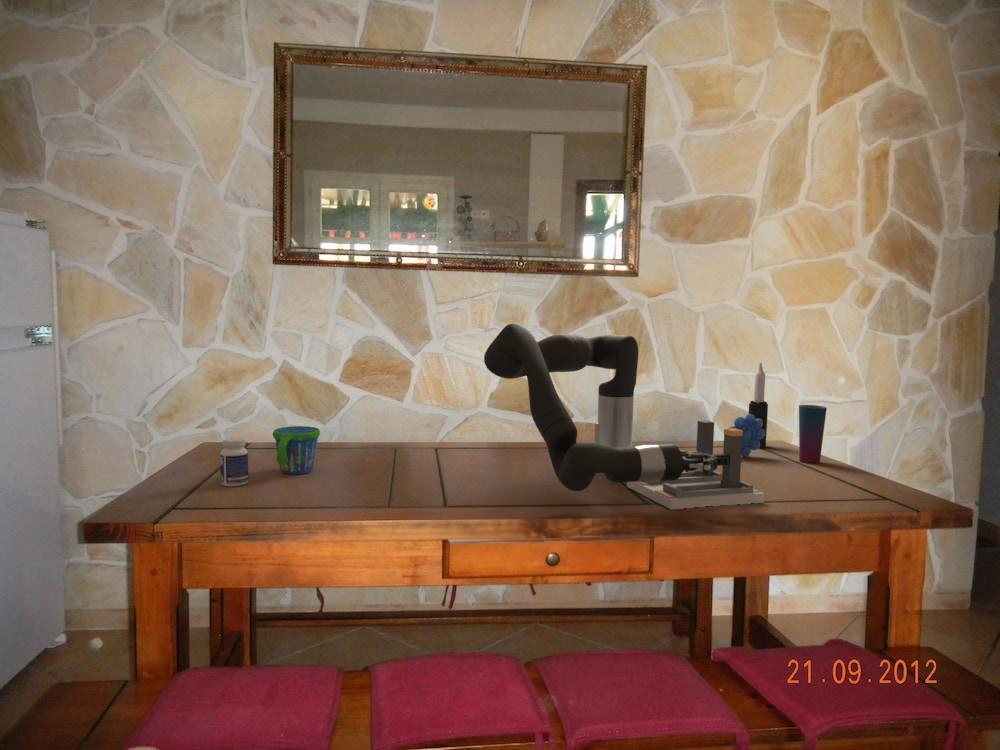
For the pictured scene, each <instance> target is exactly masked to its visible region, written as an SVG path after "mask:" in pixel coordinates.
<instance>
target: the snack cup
mask: <svg viewBox="0 0 1000 750" xmlns="http://www.w3.org/2000/svg"><path fill="white" fill-rule="evenodd" d="M320 435H321V430H320V429H319V428H318V427H314V426H306V425H305V426H301V425H293V426H284V427H283V426H282V427H279V428H275V429H273V432H272V437H273V439H274V441H275V446H276V453H277V454H276V461H277V463H278V464H279V469H280V473H283V474H286V475H303V474H308V473H310V472H312V471H313V470H314V467H315V459H316V453H317V446H318V438H319V437H320Z"/></svg>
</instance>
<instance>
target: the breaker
mask: <svg viewBox="0 0 1000 750" xmlns="http://www.w3.org/2000/svg"><path fill="white" fill-rule="evenodd" d="M742 436H743V430H739V429H735V428H734V429H728V428H724V429H723V453H722V454H727V455H729V456H730V464H729V465H722V472H721V473H722V480H721V484H720V488H723V489H725V488H740V487H741V482H740V480H741V471H742V470H741V468H742V465H741V464H742V456H741V450H742Z"/></svg>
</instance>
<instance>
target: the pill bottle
mask: <svg viewBox="0 0 1000 750" xmlns="http://www.w3.org/2000/svg"><path fill="white" fill-rule="evenodd" d="M245 446H246V439H245V438H243V437H233V438H232V437H230V438H225V439H223V440H222V447H223V449H222V450H221V451H220V453H219V454H220V455H219V456H220V457H219V459H220V484H221V485H222V486H224V487H241V486H245V485H246V484H248V483H249V453H248V452H249V451H248V449H246V447H245Z"/></svg>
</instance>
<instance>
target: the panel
mask: <svg viewBox="0 0 1000 750" xmlns="http://www.w3.org/2000/svg"><path fill="white" fill-rule="evenodd" d="M696 428H697V429H696V431H697V432H696V449H695V451H698V452H699V451H701V452H703V453H710V454H714V438H715V437H714V434H715V422H714V421H710V420H697V427H696ZM721 480H722V472H719V471H717V470H714V471H712V472H710V473H707V474H705V473H703V471H695V472H693V473H687V472H685V471H683V472H682V474H681V476H680V477H679V478H678V479H677V480H674V481H658V482H626V483H627V488H629V489H631V490H633V491H635V492H637V493H638V494H641V495H642V496H644V497H646V498H648V499H650V500H652V501H653V502H655V503H657V504H659V505H661V506H664V507H665V508H667V509H669V510H683V509H684V508H686V509H694V507H699V508H706V507H705V506H713V507H721V506H720V505H727V506H736V505H737V504H740V505H752V504H751V503H754V504H764V503H765V493H764V492H762V491H760V490H758V489H755V488H754V485H753V484H752V483H748V482H746V481H743V480H741V479H740V482H741V487H740V488H725V489H723V488H720V484H721ZM737 506H738V505H737Z"/></svg>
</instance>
